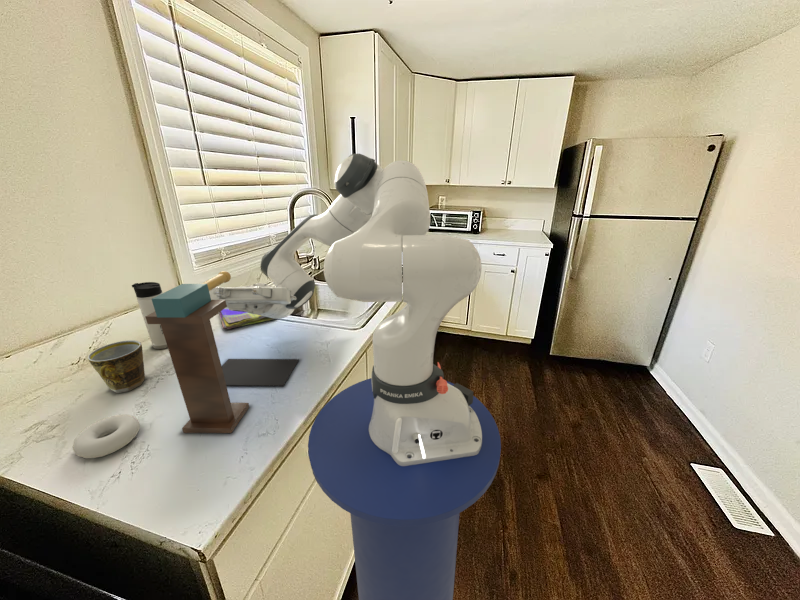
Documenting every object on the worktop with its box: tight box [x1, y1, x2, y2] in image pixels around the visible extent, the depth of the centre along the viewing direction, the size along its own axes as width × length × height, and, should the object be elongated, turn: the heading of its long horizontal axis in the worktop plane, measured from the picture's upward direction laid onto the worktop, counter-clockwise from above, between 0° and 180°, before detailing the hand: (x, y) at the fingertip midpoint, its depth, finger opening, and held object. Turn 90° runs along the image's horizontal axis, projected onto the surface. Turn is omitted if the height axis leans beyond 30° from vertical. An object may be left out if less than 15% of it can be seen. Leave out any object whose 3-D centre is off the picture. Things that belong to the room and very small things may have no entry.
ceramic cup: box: [87, 339, 146, 394], centre depth 78 cm, size 13×10×10 cm
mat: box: [221, 358, 299, 388], centre depth 86 cm, size 20×12×1 cm, turn 88°
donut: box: [72, 413, 141, 459], centre depth 64 cm, size 10×4×10 cm
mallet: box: [152, 270, 232, 318], centre depth 64 cm, size 5×19×4 cm, turn 178°
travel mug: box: [131, 281, 168, 350], centre depth 97 cm, size 6×7×20 cm
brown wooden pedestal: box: [145, 300, 250, 434], centre depth 65 cm, size 10×8×26 cm
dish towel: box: [219, 307, 276, 330], centre depth 121 cm, size 18×24×3 cm
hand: (235, 290), depth 77 cm, fingers open, 8 cm apart
